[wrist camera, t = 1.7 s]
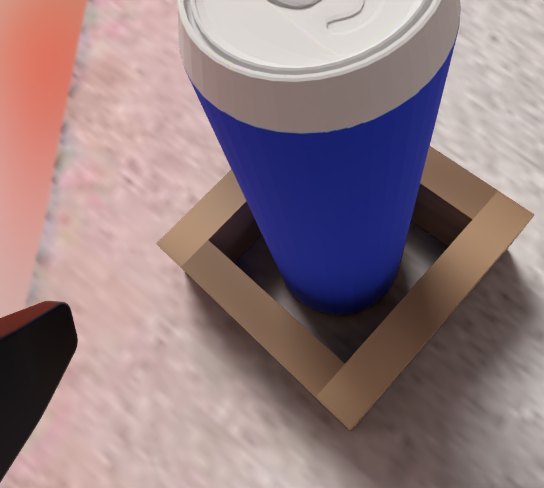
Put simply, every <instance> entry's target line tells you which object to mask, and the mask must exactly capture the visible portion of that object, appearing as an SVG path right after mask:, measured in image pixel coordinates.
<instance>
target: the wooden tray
mask: <svg viewBox="0 0 544 488" xmlns="http://www.w3.org/2000/svg"><path fill="white" fill-rule="evenodd" d="M533 216H534V214H533V213H531V212H530V211H528V210H527V209H525V208H524V207H522V206H521V205H519V204H518V203H516V202H515V201H513V200H512V199H510V198H508V197H507V196H505V195H504V194H502V193H501V192H499V191H498V190H496V189H495V188H493V187H492V186H490V185H489V184H487V183H486V182H484V181H483V180H481V179H479V178H478V177H476V176H475V175H473V174H472V173H470V172H469V171H467V170H466V169H464V168H463V167H461V166H460V165H458V164H457V163H455V162H454V161H452V160H450V159H449V158H447V157H446V156H444V155H443V154H441V153H440V152H438V151H437V150H435V149H434V148H432V147H431V146H429V150H428V154H427V158H426V162H425V166H424V170H423V174H422V178H421V182H420V186H419V190H418V194H417V198H416V202H415V206H414V210H413V214H412V218H411V220H412V221H413V222H415V223H416V224H417V225H419V226H420V227H422V228H423V229H424V230H426V231H427V232H428V233H430V234H431V235H433V236H434V237H435V238H437V239H438V240H439V241H441V242H442V243H443V244H445V245H446V246H448V248H447V249H446V250H445V251H444V253H443V254H442V255H441V256H440V257H439V258H438V259H437V260H436V262H435V263H434V264H433V265H432V266H431V267H430V268H429V270H428V271H427V272H426V273H425V274H424V275H423V276H422V277H421V279H420V280H419V281H418V282H417V283H416V284H415V285H414V286H413V288H412V289H411V290H410V291H409V292H408V293H407V294H406V296H405V297H404V298H403V299H402V300H401V301H400V302H399V303H398V305H397V306H396V307H395V308H394V309H393V310H392V311H391V312H390V314H389V315H388V316H387V317H386V318H385V319H384V320H383V321H382V323H381V324H380V325H379V326H378V327H377V328H376V329H375V331H374V332H373V333H372V334H371V335H370V336H369V337H368V338H367V340H366V341H365V342H364V343H363V344H362V345H361V346H360V347H359V349H358V350H357V351H356V352H355V353H354V354H353V355H352V357H351V358H350V359H349V360H348V361H347V362H346V363H343V362H342V361H341V360H340V359H339V358H338V357H337V356H336V355H335V354H333V353H332V352H331V351H330V350H329V349H328V348H327V347H326V346H325V345H324V344H322V343H321V342H320V341H319V340H318V339H317V338H316V337H315V336H314V335H313V334H311V333H310V332H309V331H308V330H307V329H306V328H305V327H304V326H303V325H302V324H300V323H299V322H298V321H297V320H296V319H295V318H294V317H293V316H292V315H290V314H289V313H288V312H287V311H286V310H285V309H284V308H283V307H282V306H281V305H279V304H278V303H277V302H276V301H275V300H274V299H273V298H272V297H271V296H270V295H268V294H267V293H266V292H265V291H264V290H263V289H262V288H261V287H260V286H258V285H257V284H256V283H255V282H254V281H253V280H252V279H251V278H250V277H249V276H247V275H246V274H245V273H244V272H243V271H242V270H241V269H240V268H239V267H238V266H236V265H235V264H234V262H235V261H236V260H237V259H238V258H239V257H240V256H241V255H242V254H243V253H244V252H245V251H246V250H247V249H248V248H249V247H250V246H251V245H252V244H253V243H254V241H255V240H256V239H257V238H258V237H259V236H260V235H261V234H262V233H261V231H260V229H259V227H258V224H257V222H256V220H255V218H254V216H253V214H252V212H251V209H250V207H249V205H248V203H247V201H246V199H245V197H244V195H243V192H242V190H241V188H240V186H239V184H238V182H237V180H236V177H235V175H234V173H233V171H232V169H231V170H230V171H229V172H228V173H227V174H226V175H225V176H224V177H223V178H222V179H221V180H220V181H219V182H218V183H217V184H216V185H215V186H214V187H213V188H212V189H211V190H210V191H209V192H208V193H207V194H206V195H205V196H204V197H203V198H202V199H201V200H200V201H199V202H198V203H197V204H196V205H195V206H194V207H193V208H192V209H191V210H190V211H189V212H188V213H187V214H186V215H185V216H184V217H183V218H182V219H181V220H180V221H179V222H178V223H177V224H176V225H175V226H174V227H173V228H172V229H171V230H170V231H169V232H167V233H166V234H165V235H164V236H163V237H162V238H161V239H160V240H159V241H158V242H157V243H156V244H157V245H158V246H159V247H160V248H161V249H162V250H163V251H164V252H165V253H166V254H167V255H168V256H169V257H170V258H171V259H172V260H173V261H174V262H176V263H177V264H178V265H179V266H180V267H181V268H182V269H183V270H184V271H185V272H186V273H187V274H188V275H189V276H190V277H191V278H192V279H193V280H194V281H195V282H196V283H197V284H198V285H199V286H200V287H201V288H202V289H204V290H205V291H206V292H207V293H208V294H209V295H210V296H211V297H212V298H213V299H214V300H215V301H216V302H217V303H218V304H219V305H220V306H221V307H222V308H223V309H224V310H225V311H226V312H227V313H228V314H229V315H231V316H232V317H233V318H234V319H235V320H236V321H237V322H238V323H239V324H240V325H241V326H242V327H243V328H244V329H245V330H246V331H247V332H248V333H249V334H250V335H251V336H252V337H253V338H254V339H255V340H256V341H257V342H259V343H260V344H261V345H262V346H263V347H264V348H265V349H266V350H267V351H268V352H269V353H270V354H271V355H272V356H273V357H274V358H275V359H276V360H277V361H278V362H279V363H280V364H281V365H282V366H283V367H284V368H286V369H287V370H288V371H289V372H290V373H291V374H292V375H293V376H294V377H295V378H296V379H297V380H298V381H299V382H300V383H301V384H302V385H303V386H304V387H305V388H306V389H307V390H308V391H309V392H310V393H311V394H313V395H314V396H315V397H316V398H317V399H318V400H319V401H320V402H321V403H322V404H323V405H324V406H325V407H326V408H327V409H328V410H329V411H330V412H331V413H332V414H333V415H334V416H335V417H336V418H337V419H338V420H339V421H341V422H342V423H343V424H344V425H345V426H346V427H347V428H348V429H349V430H350V431H352V429H353V428H354V427H355V426H356V425H357V424H358V422H359V421H360V420H361V419H362V418H363V417H364V415H365V414H366V413H367V412H368V411H369V410H370V408H371V407H372V406H373V405H374V404H375V403H376V401H377V400H378V399H379V398H380V397H381V396H382V394H383V393H384V392H385V391H386V390H387V389H388V387H389V386H390V385H391V384H392V383H393V382H394V380H395V379H396V378H397V377H398V376H399V375H400V373H401V372H402V371H403V370H404V369H405V368H406V366H407V365H408V364H409V363H410V362H411V361H412V359H413V358H414V357H415V356H416V355H417V354H418V352H419V351H420V350H421V349H422V348H423V347H424V345H425V344H426V343H427V342H428V341H429V340H430V338H431V337H432V336H433V335H434V334H435V333H436V331H437V330H438V329H439V328H440V327H441V326H442V324H443V323H444V322H445V321H446V320H447V319H448V317H449V316H450V315H451V314H452V313H453V312H454V310H455V309H456V308H457V307H458V306H459V305H460V304H461V302H462V301H463V300H464V299H465V298H466V297H467V295H468V294H469V293H470V292H471V291H472V290H473V288H474V287H475V286H476V285H477V284H478V283H479V281H480V280H481V279H482V278H483V277H484V276H485V274H486V273H487V272H488V271H489V270H490V269H491V267H492V266H493V265H494V264H495V263H496V262H497V260H498V259H499V258H500V257H501V256H502V255H503V253H504V252H505V251H506V250H507V249H508V247H509V246H510V245H511V244H512V242H513V241H514V240H515V239H516V237H517V236H518V235H519V234H520V232H521V231H522V230H523V229H524V228H525V226H526V225H527V224H528V223H529V221H530V220H531V219H532V218H533Z"/></svg>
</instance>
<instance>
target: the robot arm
mask: <svg viewBox="0 0 544 488" xmlns="http://www.w3.org/2000/svg"><path fill="white" fill-rule="evenodd" d="M77 343H78V339H77V333H76V329H75V325H74V321H73V317H72V312H71V309H70V307H69V305H68V304H67V303H65V302H58V301H44V302H41V303H39V304H36V305H34V306H31V307H28V308H26V309H23V310H20V311H18V312H15V313H13V314H10V315H7V316H5V317H2V318H0V482H1V481H2V479H3V478H4V476H5V474H6V473H7V471H8V470H9V468H10V467H11V465H12V463H13V462H14V460H15V459H16V457H17V456H18V454H19V452H20V451H21V449H22V448H23V446H24V445H25V443H26V441H27V440H28V438H29V437H30V435H31V434H32V432H33V430H34V429H35V427H36V426H37V424H38V422H39V421H40V419H41V417H42V415H43V414H44V412H45V410H46V408H47V406H48V404H49V402H50V400H51V398H52V396H53V394H54V392H55V390H56V388H57V387H58V385H59V383H60V381H61V379H62V377H63V375H64V373H65V371H66V369H67V367H68V365H69V363H70V361H71V359H72V357H73V355H74V353H75V351H76V348H77Z"/></svg>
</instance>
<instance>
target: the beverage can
mask: <svg viewBox="0 0 544 488" xmlns="http://www.w3.org/2000/svg"><path fill="white" fill-rule="evenodd" d="M177 7H178V35H179V48H180V54H181V58H182V61H183V65H184V68H185V70H186V72H187V75H188V77H189V79H190V81H191V83H192V85H193V87H194V90H195V92H196V94H197V96H198V98H199V100H200V102H201V105H202V107H203V109H204V111H205V113H206V115H207V117H208V120H209V122H210V124H211V126H212V128H213V130H214V132H215V135H216V137H217V139H218V141H219V143H220V145H221V147H222V150H223V152H224V154H225V156H226V158H227V160H228V162H229V165H230V167H231V169H232V171H233V173H234V175H235V177H236V180H237V182H238V184H239V186H240V188H241V190H242V192H243V195H244V197H245V199H246V201H247V203H248V205H249V207H250V209H251V212H252V214H253V216H254V218H255V220H256V222H257V224H258V227H259V229H260V231H261V233H262V235H263V237H264V239H265V242H266V244H267V246H268V248H269V250H270V252H271V254H272V257H273V259H274V261H275V263H276V265H277V267H278V269H279V272H280V274H281V276H282V278H283V280H284V282H285V284H286V286H287V287H288V289H289V290H290V292H291V293H292V294H293V295H294V296H295V297H296V298H297V299H298V300H299V301H300V302H302V303H303V304H305V305H306V306H308V307H310V308H312V309H314V310H317V311H320V312H323V313H328V314H350V313H355V312H358V311H361V310H364V309H366V308H368V307H370V306H372V305H373V304H375V303H376V302H377V301H379V300H380V299H381V298H382V297H383V296H384V295H385V294H386V293H387V292H388V291H389V289H390V288H391V286H392V285H393V283H394V281H395V279H396V276H397V273H398V270H399V266H400V262H401V258H402V254H403V250H404V246H405V242H406V238H407V234H408V230H409V226H410V222H411V218H412V214H413V210H414V206H415V202H416V198H417V194H418V190H419V186H420V182H421V178H422V174H423V170H424V166H425V162H426V158H427V154H428V150H429V146H430V142H431V138H432V134H433V130H434V126H435V122H436V118H437V114H438V110H439V105H440V101H441V97H442V93H443V89H444V85H445V81H446V77H447V73H448V69H449V65H450V61H451V57H452V53H453V49H454V45H455V41H456V37H457V33H458V29H459V24H460V11H461V5H460V0H177Z"/></svg>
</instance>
